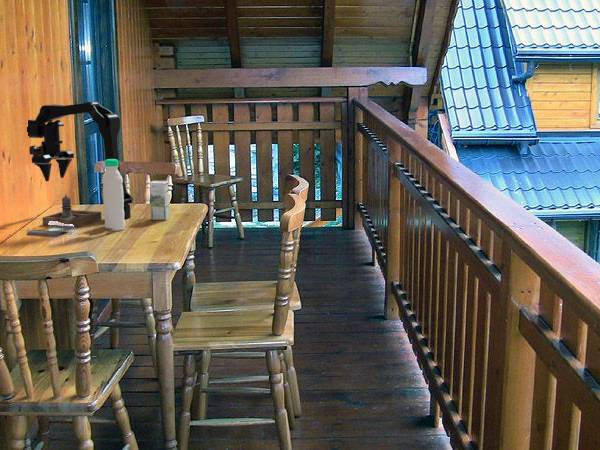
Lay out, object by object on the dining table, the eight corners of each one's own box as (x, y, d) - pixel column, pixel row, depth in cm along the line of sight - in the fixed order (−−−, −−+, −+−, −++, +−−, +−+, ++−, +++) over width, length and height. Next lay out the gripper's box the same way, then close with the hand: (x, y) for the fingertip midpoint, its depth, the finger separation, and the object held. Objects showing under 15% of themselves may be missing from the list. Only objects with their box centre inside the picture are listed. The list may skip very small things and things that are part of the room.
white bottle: (120, 231, 291) (116, 160, 286) (101, 231, 293) (97, 160, 288) (128, 227, 298) (124, 158, 293) (110, 227, 299) (106, 158, 294)
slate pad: (71, 231, 292) (70, 228, 292) (56, 236, 285) (56, 233, 284) (42, 229, 296) (42, 226, 296) (27, 234, 288) (27, 231, 288)
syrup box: (169, 217, 316) (168, 180, 313) (165, 220, 310) (164, 182, 308) (155, 217, 317) (153, 179, 314) (150, 220, 311) (149, 182, 308)
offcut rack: (101, 222, 308) (101, 211, 308) (76, 230, 294) (75, 219, 293) (69, 220, 313) (68, 209, 312) (43, 228, 298) (42, 217, 297)
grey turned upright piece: (73, 228, 298) (71, 195, 295) (57, 228, 298) (55, 195, 295) (78, 225, 303) (76, 192, 301) (62, 225, 304) (60, 193, 301)
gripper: (49, 135, 325) (52, 175, 328) (18, 140, 308) (21, 182, 311) (73, 136, 321) (76, 176, 324) (43, 140, 304) (46, 183, 307)
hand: (54, 179), depth 316 cm, fingers open, 9 cm apart
